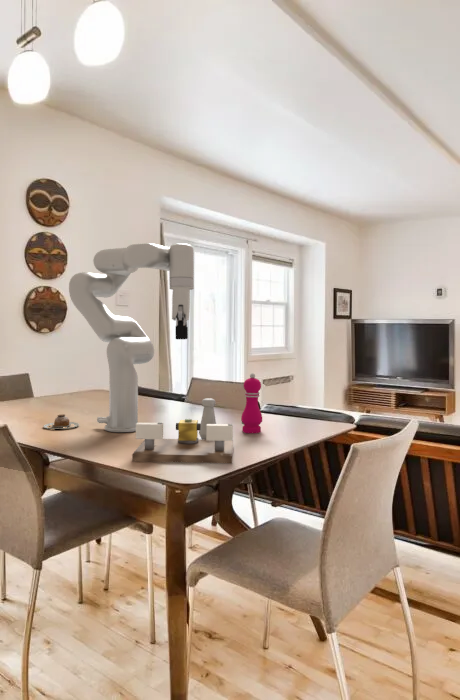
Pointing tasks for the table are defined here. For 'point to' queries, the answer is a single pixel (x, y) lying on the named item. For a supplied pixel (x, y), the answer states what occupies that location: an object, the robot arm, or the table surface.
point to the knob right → (219, 434)
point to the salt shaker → (207, 416)
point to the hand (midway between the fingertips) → (181, 339)
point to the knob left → (149, 433)
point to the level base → (185, 448)
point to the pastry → (61, 423)
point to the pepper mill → (252, 406)
